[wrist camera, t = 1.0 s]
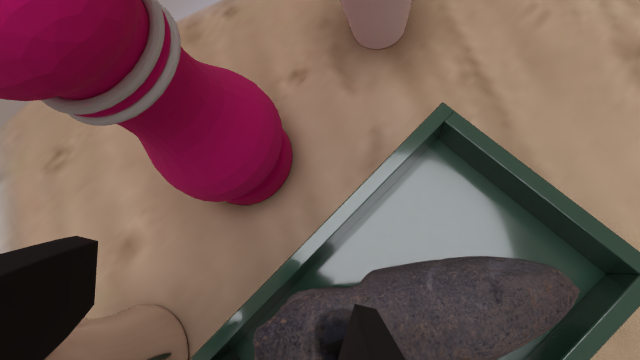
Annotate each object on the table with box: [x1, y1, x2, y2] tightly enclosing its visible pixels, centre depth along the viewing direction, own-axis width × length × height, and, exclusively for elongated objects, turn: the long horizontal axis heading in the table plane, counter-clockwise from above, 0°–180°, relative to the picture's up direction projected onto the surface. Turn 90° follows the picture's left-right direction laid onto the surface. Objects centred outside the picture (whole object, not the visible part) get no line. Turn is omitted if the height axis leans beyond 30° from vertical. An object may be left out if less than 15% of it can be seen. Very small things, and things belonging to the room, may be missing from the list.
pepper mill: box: [0, 0, 292, 205], centre depth 15 cm, size 7×7×20 cm
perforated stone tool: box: [253, 256, 580, 360], centre depth 17 cm, size 15×5×7 cm, turn 103°
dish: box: [191, 103, 640, 360], centre depth 19 cm, size 13×19×3 cm, turn 134°
